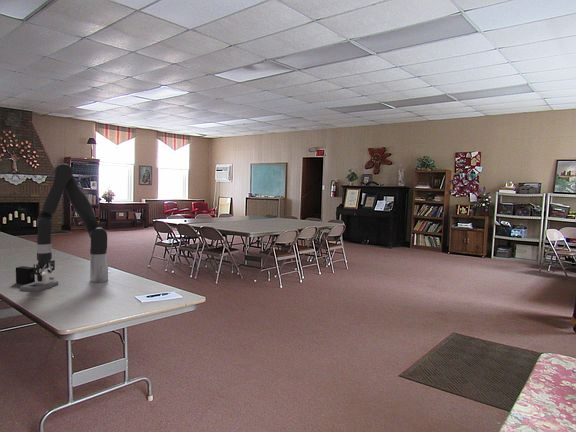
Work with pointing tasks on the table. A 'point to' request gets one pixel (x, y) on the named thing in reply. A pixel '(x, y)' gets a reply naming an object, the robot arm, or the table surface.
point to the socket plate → (37, 286)
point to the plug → (46, 278)
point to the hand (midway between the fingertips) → (44, 279)
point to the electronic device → (25, 275)
